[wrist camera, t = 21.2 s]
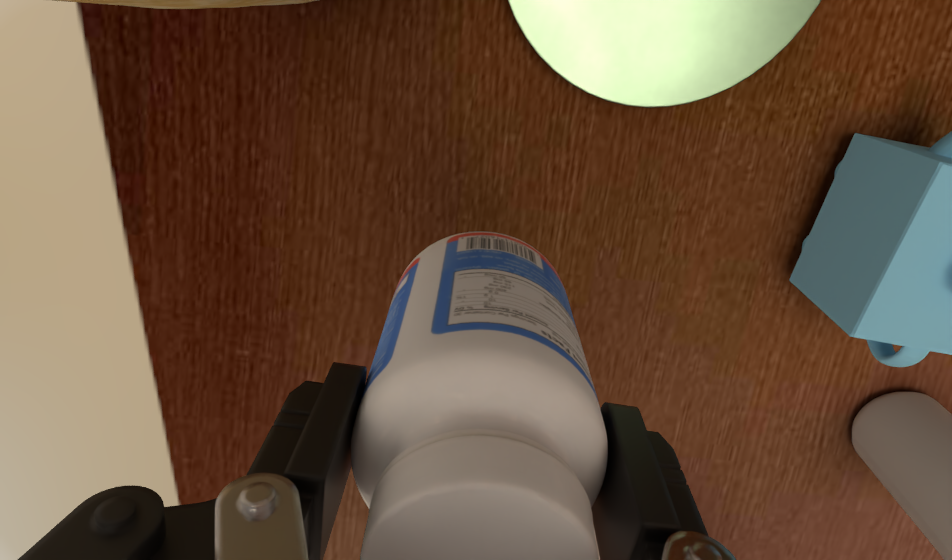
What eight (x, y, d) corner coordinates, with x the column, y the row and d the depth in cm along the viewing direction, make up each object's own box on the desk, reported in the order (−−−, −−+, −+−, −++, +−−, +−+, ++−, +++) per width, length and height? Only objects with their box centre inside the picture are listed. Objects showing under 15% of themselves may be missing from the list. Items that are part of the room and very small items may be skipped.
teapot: (877, 49, 25) (1022, 63, 18) (1013, 77, 25) (1205, 101, 18) (768, 299, 30) (849, 384, 23) (882, 320, 30) (996, 410, 23)
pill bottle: (458, 404, 20) (429, 716, 11) (361, 283, 18) (237, 543, 10) (601, 329, 19) (696, 618, 10) (511, 190, 17) (530, 393, 8)
